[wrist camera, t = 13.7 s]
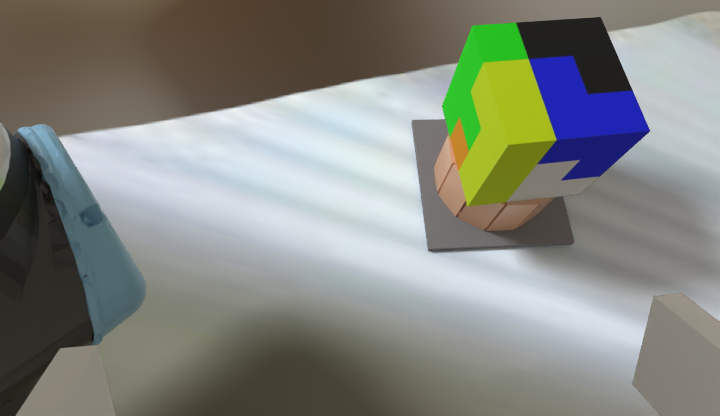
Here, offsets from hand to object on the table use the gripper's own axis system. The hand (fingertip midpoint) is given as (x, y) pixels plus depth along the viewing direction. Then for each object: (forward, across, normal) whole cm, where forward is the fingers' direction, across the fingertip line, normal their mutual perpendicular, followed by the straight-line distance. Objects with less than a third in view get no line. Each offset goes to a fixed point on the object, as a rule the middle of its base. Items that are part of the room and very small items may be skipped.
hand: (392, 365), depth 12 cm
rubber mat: (+36, +17, -9) cm, 40 cm away
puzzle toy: (+31, +16, -4) cm, 36 cm away
